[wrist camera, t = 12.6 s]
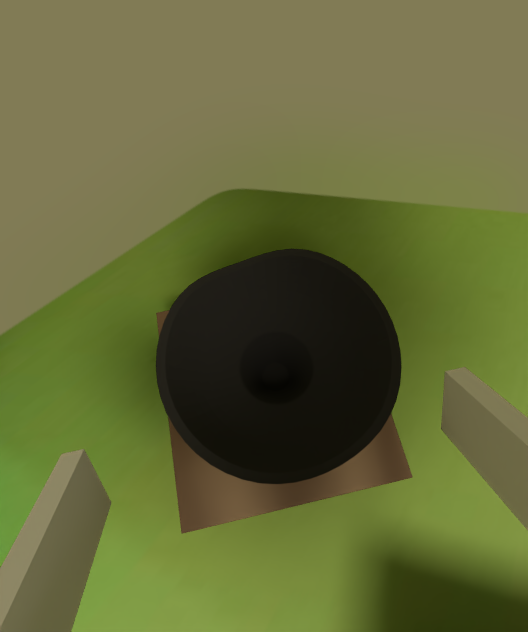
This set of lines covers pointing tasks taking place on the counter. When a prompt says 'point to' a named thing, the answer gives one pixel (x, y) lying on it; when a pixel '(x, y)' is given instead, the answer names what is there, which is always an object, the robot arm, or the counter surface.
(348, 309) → the pen holder
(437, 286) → the counter surface
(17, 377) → the counter surface
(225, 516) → the walnut plinth
